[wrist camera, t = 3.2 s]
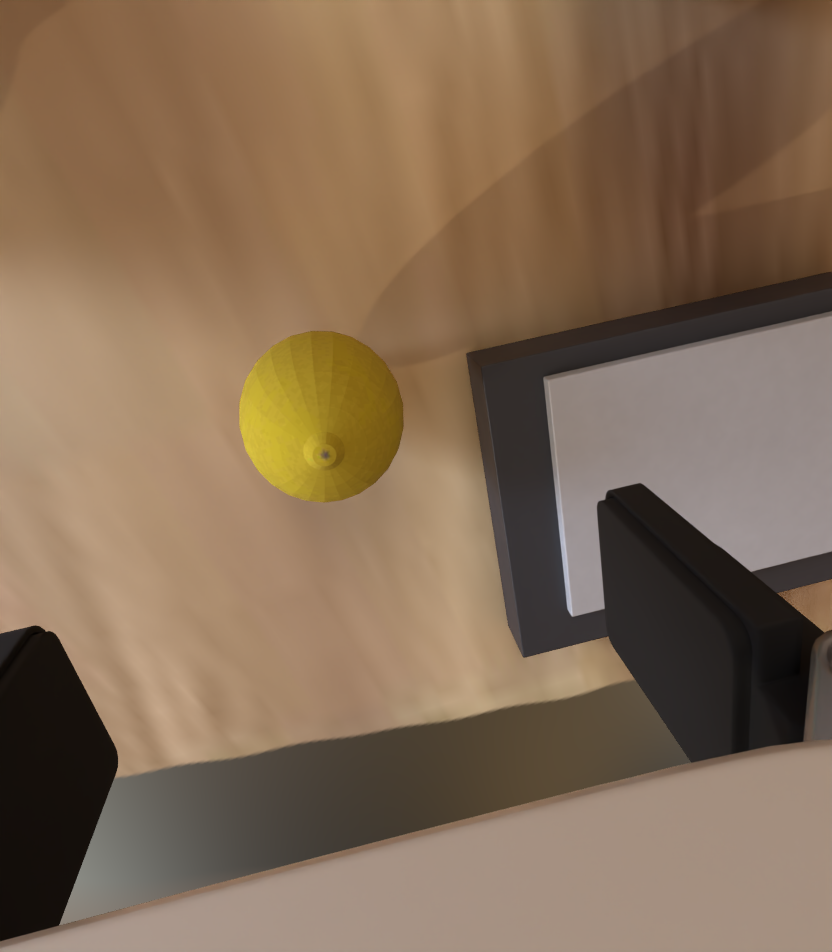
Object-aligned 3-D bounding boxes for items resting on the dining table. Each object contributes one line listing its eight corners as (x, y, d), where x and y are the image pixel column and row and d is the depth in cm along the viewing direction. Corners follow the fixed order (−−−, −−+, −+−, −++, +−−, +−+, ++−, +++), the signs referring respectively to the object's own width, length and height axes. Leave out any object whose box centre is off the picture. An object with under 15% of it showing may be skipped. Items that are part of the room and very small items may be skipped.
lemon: (408, 421, 26) (444, 502, 19) (285, 468, 26) (273, 567, 19) (361, 293, 24) (381, 329, 17) (226, 344, 24) (187, 402, 17)
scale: (513, 661, 32) (532, 704, 29) (465, 352, 25) (484, 370, 23) (803, 587, 33) (849, 621, 30) (830, 271, 26) (892, 278, 24)
